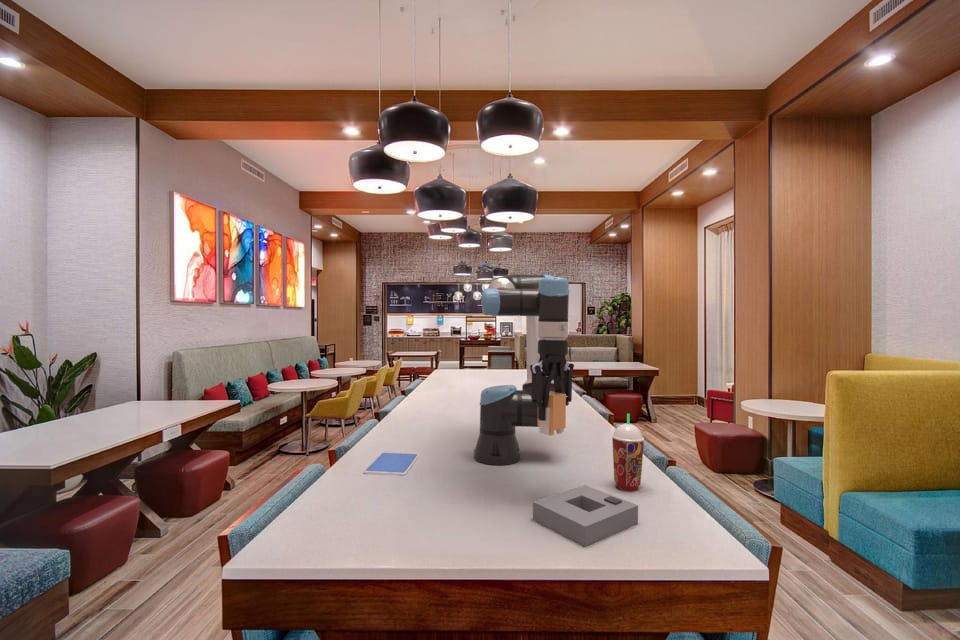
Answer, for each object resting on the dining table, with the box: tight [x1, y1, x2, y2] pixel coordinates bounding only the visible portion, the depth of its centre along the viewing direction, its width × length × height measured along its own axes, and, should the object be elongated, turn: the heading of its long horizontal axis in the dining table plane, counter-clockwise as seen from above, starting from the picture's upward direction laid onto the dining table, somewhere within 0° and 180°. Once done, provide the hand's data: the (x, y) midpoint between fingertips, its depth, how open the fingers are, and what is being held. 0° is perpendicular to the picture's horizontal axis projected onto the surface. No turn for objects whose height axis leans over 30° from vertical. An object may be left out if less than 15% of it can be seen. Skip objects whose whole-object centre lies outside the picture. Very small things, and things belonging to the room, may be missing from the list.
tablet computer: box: [363, 452, 420, 476], centre depth 138 cm, size 19×13×1 cm, turn 176°
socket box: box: [532, 484, 639, 548], centre depth 101 cm, size 15×18×4 cm
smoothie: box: [611, 413, 645, 492], centre depth 122 cm, size 8×8×20 cm
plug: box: [538, 391, 567, 436], centre depth 113 cm, size 5×4×10 cm
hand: (551, 431), depth 112 cm, fingers closed on plug, 4 cm apart
